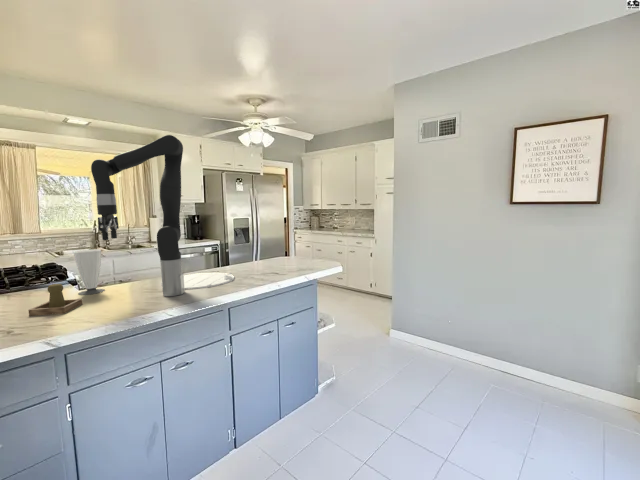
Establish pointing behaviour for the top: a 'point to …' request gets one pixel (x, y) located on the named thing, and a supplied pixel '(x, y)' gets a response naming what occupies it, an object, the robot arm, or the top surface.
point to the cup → (89, 269)
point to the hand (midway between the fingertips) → (110, 239)
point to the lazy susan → (206, 280)
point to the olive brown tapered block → (56, 296)
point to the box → (45, 309)
